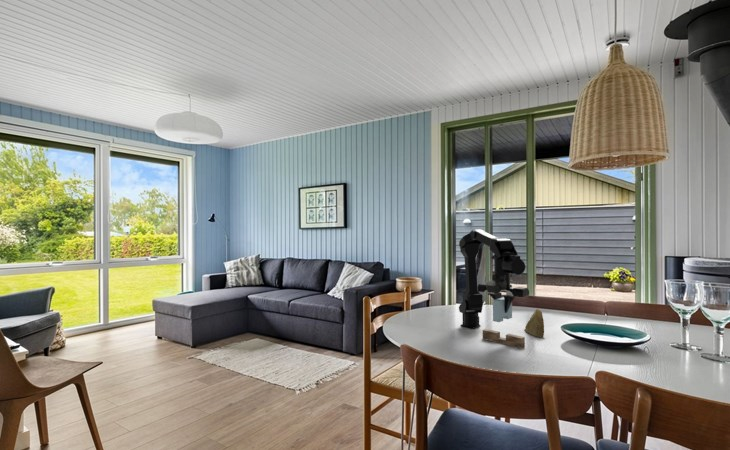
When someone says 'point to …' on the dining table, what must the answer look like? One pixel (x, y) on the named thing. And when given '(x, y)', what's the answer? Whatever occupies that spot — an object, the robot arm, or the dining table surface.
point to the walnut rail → (509, 340)
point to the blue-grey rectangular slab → (501, 310)
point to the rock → (535, 324)
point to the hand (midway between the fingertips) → (502, 312)
